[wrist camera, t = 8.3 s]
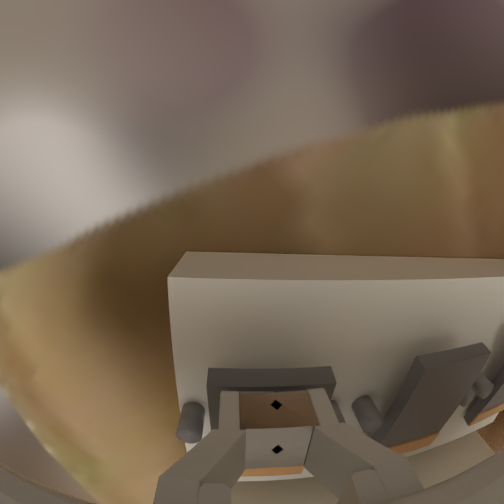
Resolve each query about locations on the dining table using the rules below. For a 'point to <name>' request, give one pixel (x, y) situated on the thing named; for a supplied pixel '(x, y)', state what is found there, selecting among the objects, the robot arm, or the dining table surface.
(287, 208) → the dining table surface
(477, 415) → the switch far
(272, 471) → the switch near
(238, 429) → the robot arm
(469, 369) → the switch middle
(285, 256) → the switch unit
